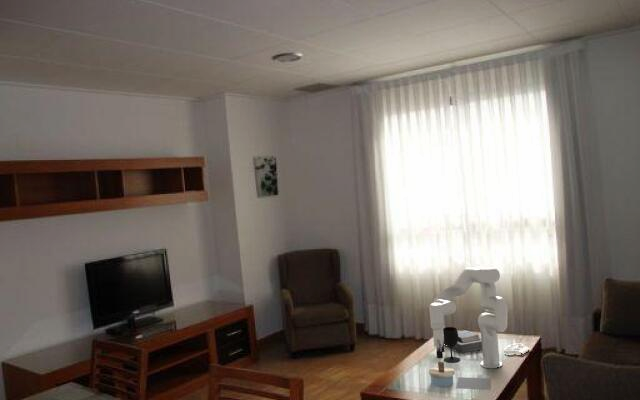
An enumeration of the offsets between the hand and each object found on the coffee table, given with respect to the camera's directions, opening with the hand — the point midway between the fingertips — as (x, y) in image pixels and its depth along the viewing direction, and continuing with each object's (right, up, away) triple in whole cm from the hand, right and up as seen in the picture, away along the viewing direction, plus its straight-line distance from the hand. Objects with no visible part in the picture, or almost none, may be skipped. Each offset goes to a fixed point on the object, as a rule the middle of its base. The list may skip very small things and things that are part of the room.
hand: (440, 355), depth 297 cm
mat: (+17, -15, -4) cm, 23 cm away
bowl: (+1, -16, 0) cm, 16 cm away
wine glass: (+15, -14, +36) cm, 42 cm away
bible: (+30, -13, +60) cm, 68 cm away
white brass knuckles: (+58, -11, +41) cm, 72 cm away
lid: (+1, -10, 0) cm, 10 cm away
